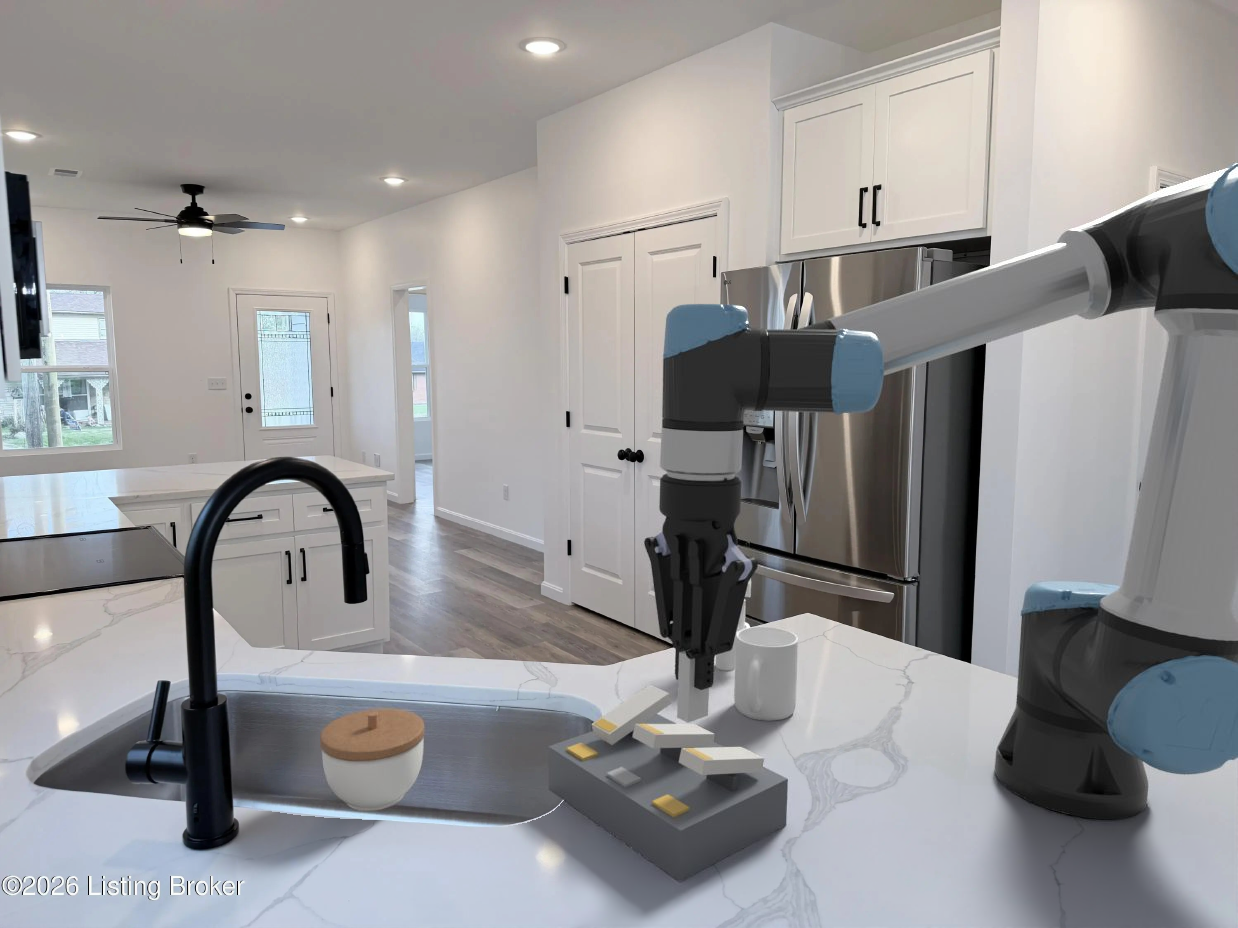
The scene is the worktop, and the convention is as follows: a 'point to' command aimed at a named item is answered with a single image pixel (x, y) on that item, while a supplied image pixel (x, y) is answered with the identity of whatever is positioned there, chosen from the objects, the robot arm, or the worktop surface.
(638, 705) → the switch
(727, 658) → the white plastic fitting
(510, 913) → the worktop surface
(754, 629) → the mug
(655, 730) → the switch
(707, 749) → the switch
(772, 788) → the switch unit
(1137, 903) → the worktop surface
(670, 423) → the robot arm
